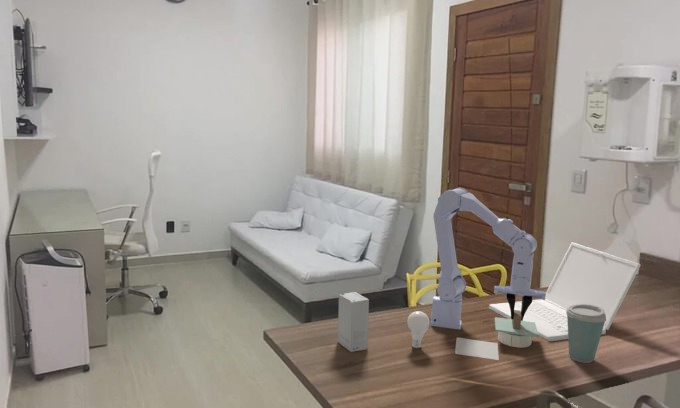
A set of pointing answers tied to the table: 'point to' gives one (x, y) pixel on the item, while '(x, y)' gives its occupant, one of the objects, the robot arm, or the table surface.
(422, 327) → the lightbulb
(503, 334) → the bowl
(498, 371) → the table surface
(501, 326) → the lid
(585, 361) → the disposable coffee cup
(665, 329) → the table surface
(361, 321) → the skincare box
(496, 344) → the mat
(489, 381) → the table surface
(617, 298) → the laptop
